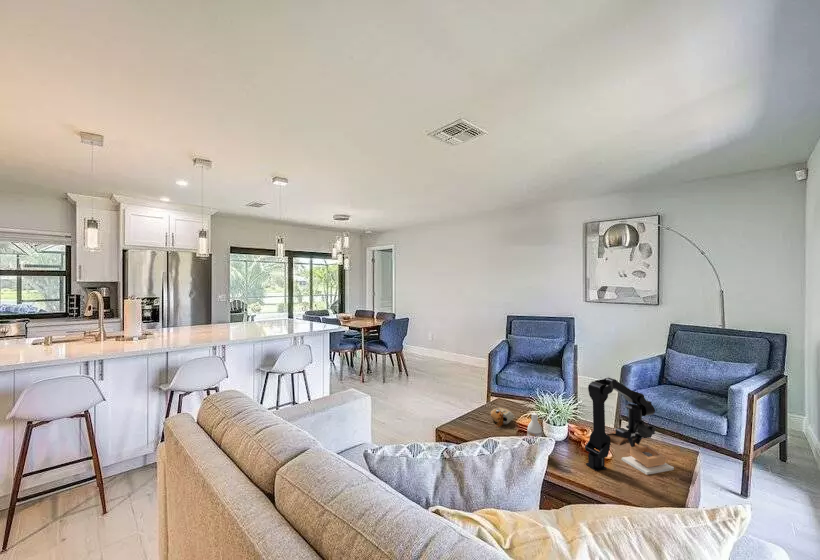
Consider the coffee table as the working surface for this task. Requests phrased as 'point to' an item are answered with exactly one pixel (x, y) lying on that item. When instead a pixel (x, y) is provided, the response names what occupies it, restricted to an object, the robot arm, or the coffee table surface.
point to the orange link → (647, 461)
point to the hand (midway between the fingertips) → (634, 448)
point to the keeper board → (645, 469)
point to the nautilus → (501, 416)
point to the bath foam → (534, 426)
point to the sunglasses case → (617, 438)
